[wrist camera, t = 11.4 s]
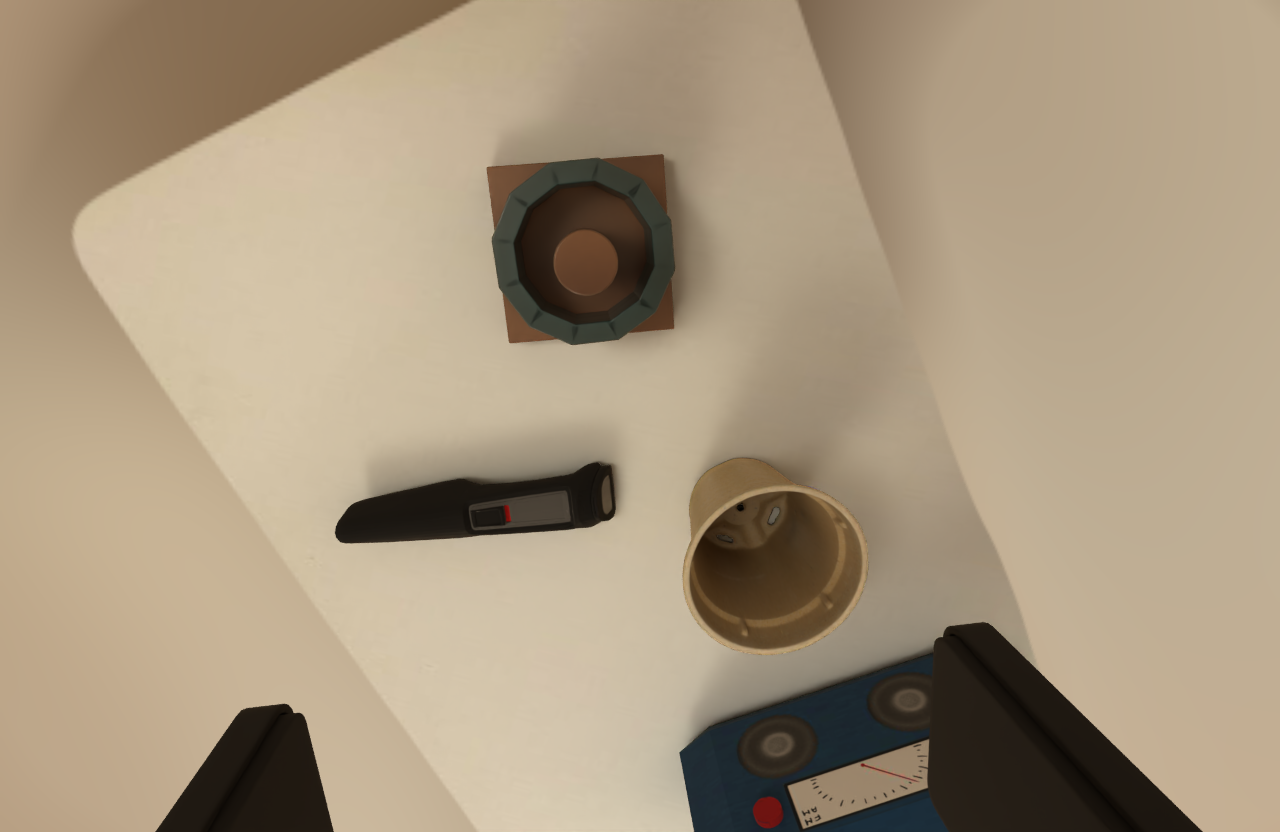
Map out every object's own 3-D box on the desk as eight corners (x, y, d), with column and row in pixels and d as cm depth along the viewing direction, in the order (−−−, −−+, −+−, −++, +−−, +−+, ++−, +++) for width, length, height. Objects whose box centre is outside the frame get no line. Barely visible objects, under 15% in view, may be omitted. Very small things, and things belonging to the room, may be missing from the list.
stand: (490, 169, 36) (444, 142, 24) (660, 156, 37) (699, 124, 25) (511, 338, 39) (480, 391, 27) (670, 325, 39) (711, 370, 27)
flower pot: (813, 565, 44) (868, 645, 36) (668, 581, 43) (688, 666, 35) (812, 425, 41) (871, 475, 33) (657, 440, 41) (677, 496, 33)
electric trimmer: (346, 482, 40) (326, 504, 37) (610, 456, 41) (612, 475, 38) (358, 540, 41) (340, 566, 38) (616, 514, 42) (618, 537, 39)
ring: (491, 174, 35) (480, 169, 31) (656, 158, 35) (665, 150, 31) (516, 339, 37) (508, 352, 33) (670, 321, 37) (680, 333, 34)
